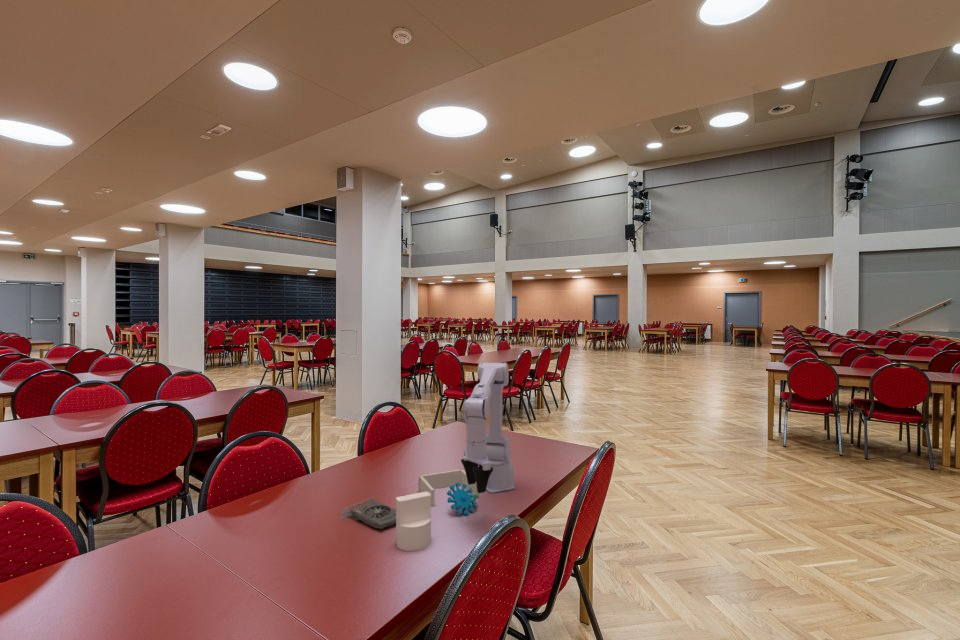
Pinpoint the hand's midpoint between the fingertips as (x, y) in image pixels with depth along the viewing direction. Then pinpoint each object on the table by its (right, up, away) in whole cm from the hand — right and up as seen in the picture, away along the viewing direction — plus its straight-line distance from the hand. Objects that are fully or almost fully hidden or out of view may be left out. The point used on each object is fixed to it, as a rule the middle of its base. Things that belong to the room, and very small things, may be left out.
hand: (476, 487), depth 124 cm
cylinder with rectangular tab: (-16, -11, -10) cm, 22 cm away
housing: (-9, -11, +21) cm, 25 cm away
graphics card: (-30, -11, +3) cm, 32 cm away
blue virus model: (-4, -11, +9) cm, 15 cm away
